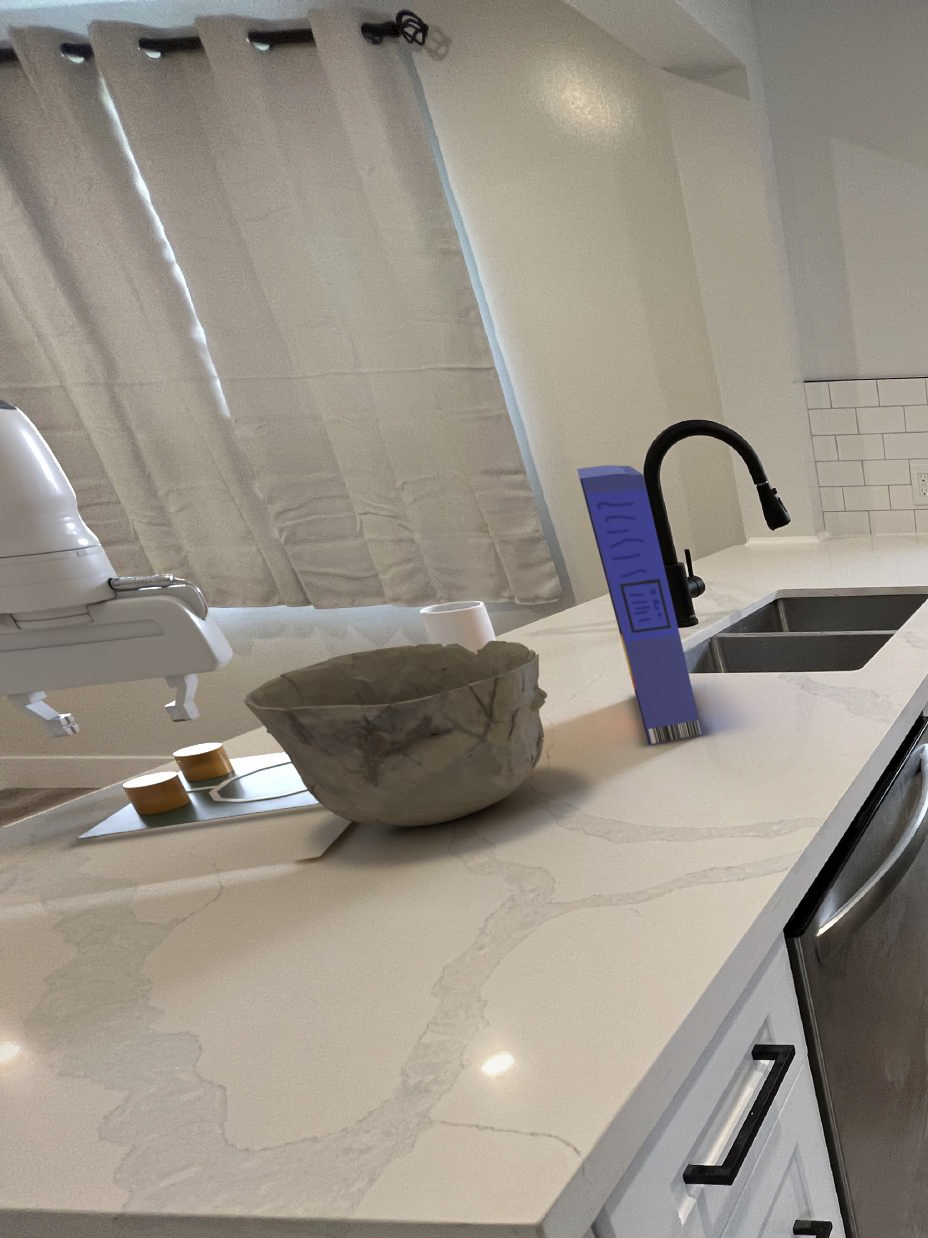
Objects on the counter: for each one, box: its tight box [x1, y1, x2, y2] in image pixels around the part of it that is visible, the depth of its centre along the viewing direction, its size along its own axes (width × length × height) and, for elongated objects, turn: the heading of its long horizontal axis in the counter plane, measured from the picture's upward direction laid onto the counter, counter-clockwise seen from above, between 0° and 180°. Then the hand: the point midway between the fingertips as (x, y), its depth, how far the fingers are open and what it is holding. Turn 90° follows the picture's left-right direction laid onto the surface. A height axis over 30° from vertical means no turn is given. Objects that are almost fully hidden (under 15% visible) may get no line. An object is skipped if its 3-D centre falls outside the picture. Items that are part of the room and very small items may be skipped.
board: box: [76, 751, 321, 840], centre depth 92 cm, size 20×20×1 cm
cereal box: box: [576, 464, 703, 746], centre depth 104 cm, size 22×6×30 cm, turn 28°
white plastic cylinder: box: [420, 600, 497, 655], centre depth 108 cm, size 7×7×15 cm
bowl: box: [243, 640, 548, 828], centre depth 82 cm, size 22×22×15 cm
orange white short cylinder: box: [121, 771, 191, 815], centre depth 86 cm, size 4×4×3 cm
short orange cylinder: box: [172, 742, 234, 781], centre depth 94 cm, size 4×4×3 cm
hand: (127, 727), depth 83 cm, fingers open, 8 cm apart
